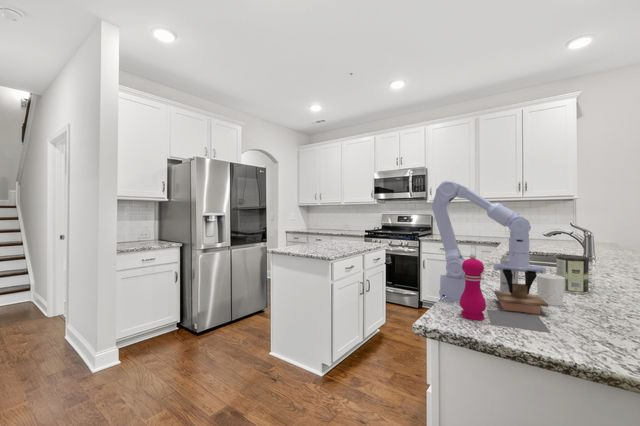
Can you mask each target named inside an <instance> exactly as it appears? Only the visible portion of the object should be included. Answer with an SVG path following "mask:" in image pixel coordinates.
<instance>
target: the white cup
mask: <svg viewBox="0 0 640 426" xmlns="http://www.w3.org/2000/svg"><path fill="white" fill-rule="evenodd" d="M536 274H537V276H536V289H537V295H538V296H539V297H540V298H542V299H543V300H544V301H545V302H546V303H547V304H548V306H551V307H552V306H553V307H560V306H561V307H563V304H564V296H565V295H564V294H565V292H564V285H565V277H562V276H558V275H557V274H551V273H546V274H542V273H536Z"/></svg>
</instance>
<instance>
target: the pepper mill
mask: <svg viewBox="0 0 640 426" xmlns="http://www.w3.org/2000/svg"><path fill="white" fill-rule="evenodd" d="M462 269H463V271H464V272H465V274H464V279H465V289H464V291H463V294H462V296H461V298H460V302H459V306H460V308H461V309H462V310H461V313H460V314H461V315H460V316H461V317H463V318H464V319H467V320H471V321H483V320H484V319H485V314H484V311H486V310H487V305H486V304H487V303H486V300H485V297H484V294H483V292H482V289H481V281H482V280H483V279H482V277H483V276H482V274H483V272H484V270H485V267H484V263H483V262H482V261H480V260H479V259H477V255H476V253H475V254H474V253H470V255H469V258H467V259H465V261H464V262H463V264H462Z"/></svg>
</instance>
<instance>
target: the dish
mask: <svg viewBox="0 0 640 426" xmlns="http://www.w3.org/2000/svg"><path fill="white" fill-rule="evenodd" d="M499 303H500V305H501V307H502V310H504V311H510V312H511V311H513V312H517V313H525V314H534V315H535V314H537V315H541V306H535V305H526V304H517V303H508V302H499Z"/></svg>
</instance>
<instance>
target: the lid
mask: <svg viewBox="0 0 640 426" xmlns="http://www.w3.org/2000/svg"><path fill="white" fill-rule="evenodd" d="M493 293H494V296H495V297H496V298H497V300H498V302H499V303H500V302H508V303H517V304H526V305H535V306H540V307H546V308H548V307H549V305H548V304H547V303H546V302H545V301H544V300H543V299H542V298H540V297H539V296H538V294H530V293H529V294H527V286H526V285H525V283H524V284H522V283H518V284H513V283H512V293H510V292H502V291H501V290H494V291H493Z"/></svg>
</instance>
